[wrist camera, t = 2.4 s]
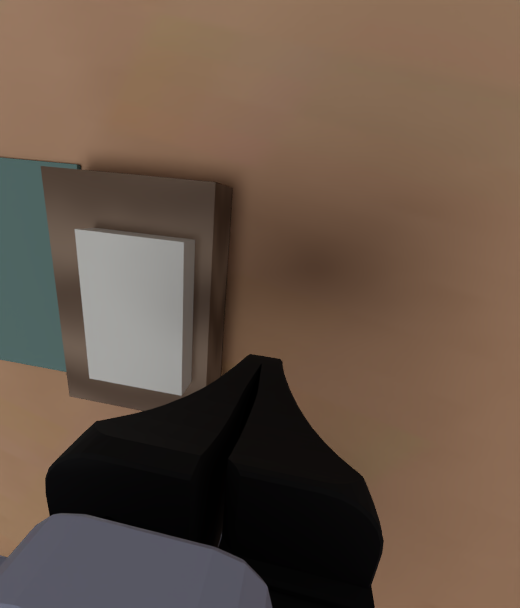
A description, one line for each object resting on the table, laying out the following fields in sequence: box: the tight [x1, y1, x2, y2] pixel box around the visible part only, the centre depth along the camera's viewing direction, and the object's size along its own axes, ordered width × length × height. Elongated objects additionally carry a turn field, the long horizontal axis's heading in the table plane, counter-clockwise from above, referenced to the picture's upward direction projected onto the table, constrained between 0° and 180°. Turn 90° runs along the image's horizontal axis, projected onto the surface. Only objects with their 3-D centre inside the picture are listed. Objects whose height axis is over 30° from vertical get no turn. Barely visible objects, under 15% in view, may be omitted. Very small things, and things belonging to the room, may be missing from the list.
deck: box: [41, 166, 233, 411], centre depth 19 cm, size 15×10×4 cm, turn 174°
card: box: [75, 228, 195, 396], centre depth 17 cm, size 9×6×2 cm, turn 174°
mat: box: [0, 158, 81, 372], centre depth 22 cm, size 16×10×1 cm, turn 174°
